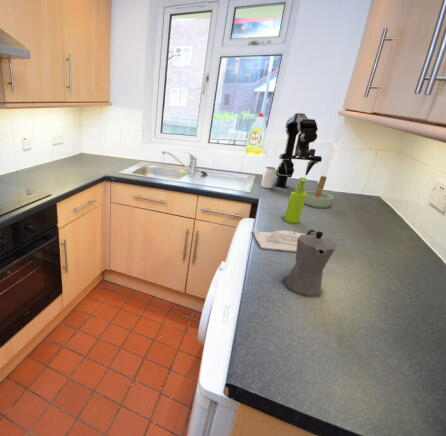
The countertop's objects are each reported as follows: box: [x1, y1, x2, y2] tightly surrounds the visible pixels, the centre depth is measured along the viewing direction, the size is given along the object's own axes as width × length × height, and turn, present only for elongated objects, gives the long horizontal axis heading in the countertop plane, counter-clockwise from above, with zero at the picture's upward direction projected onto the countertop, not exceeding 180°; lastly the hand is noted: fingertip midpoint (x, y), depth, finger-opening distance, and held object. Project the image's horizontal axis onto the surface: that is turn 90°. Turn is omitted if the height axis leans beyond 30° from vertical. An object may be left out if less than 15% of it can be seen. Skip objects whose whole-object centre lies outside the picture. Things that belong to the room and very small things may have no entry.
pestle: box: [312, 175, 328, 199], centre depth 153 cm, size 5×5×14 cm
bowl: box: [304, 190, 334, 209], centre depth 156 cm, size 13×13×5 cm
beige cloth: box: [251, 229, 306, 253], centre depth 113 cm, size 17×23×5 cm
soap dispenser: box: [283, 177, 308, 224], centre depth 130 cm, size 6×7×20 cm
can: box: [260, 166, 277, 189], centre depth 180 cm, size 6×6×12 cm
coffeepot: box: [284, 229, 338, 297], centre depth 85 cm, size 15×9×18 cm, turn 159°
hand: (296, 174), depth 157 cm, fingers open, 9 cm apart
